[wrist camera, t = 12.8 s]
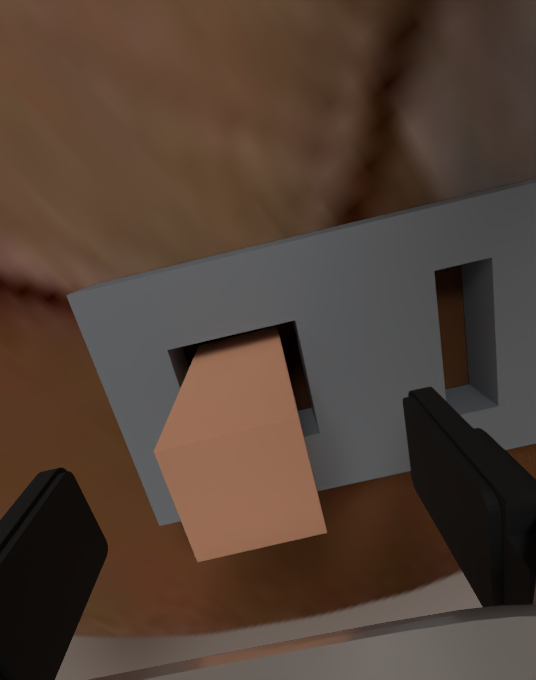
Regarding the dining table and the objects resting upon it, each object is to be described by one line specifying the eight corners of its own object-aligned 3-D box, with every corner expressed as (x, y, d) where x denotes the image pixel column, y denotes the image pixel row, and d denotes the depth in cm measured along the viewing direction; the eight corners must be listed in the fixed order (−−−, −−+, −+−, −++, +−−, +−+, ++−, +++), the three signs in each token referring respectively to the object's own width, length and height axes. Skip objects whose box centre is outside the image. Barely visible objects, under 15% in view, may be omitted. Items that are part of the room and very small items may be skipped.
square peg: (198, 345, 19) (153, 451, 10) (276, 326, 18) (298, 417, 10) (221, 414, 20) (197, 562, 11) (294, 396, 20) (327, 532, 11)
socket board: (91, 285, 18) (66, 295, 15) (561, 171, 17) (612, 164, 14) (169, 491, 21) (159, 525, 19) (558, 405, 20) (599, 429, 18)
